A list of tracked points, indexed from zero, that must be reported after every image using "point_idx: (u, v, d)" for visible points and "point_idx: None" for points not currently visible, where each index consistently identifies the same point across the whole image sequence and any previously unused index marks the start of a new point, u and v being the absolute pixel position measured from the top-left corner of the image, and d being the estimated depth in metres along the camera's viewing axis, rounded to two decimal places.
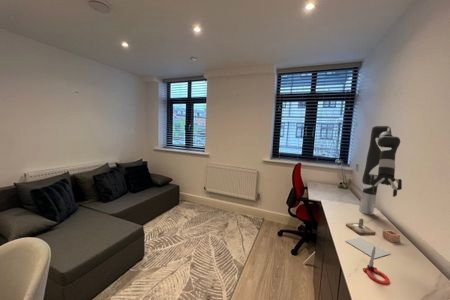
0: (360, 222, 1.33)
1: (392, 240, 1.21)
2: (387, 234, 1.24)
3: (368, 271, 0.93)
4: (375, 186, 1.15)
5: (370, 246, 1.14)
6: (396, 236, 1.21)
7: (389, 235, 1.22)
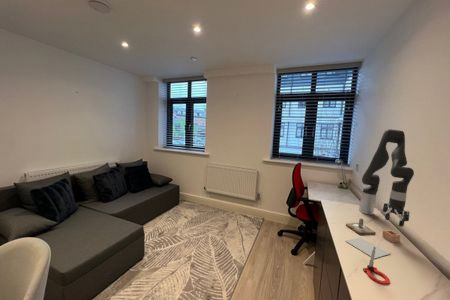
0: (360, 222, 1.33)
1: (392, 240, 1.21)
2: (387, 234, 1.24)
3: (368, 271, 0.92)
4: (386, 214, 1.27)
5: (370, 246, 1.14)
6: (396, 236, 1.21)
7: (389, 235, 1.22)
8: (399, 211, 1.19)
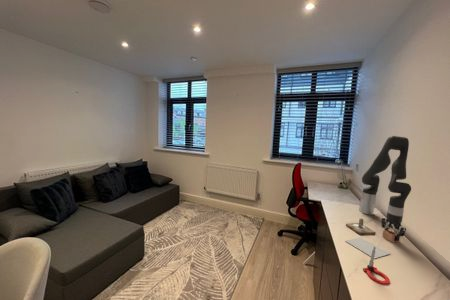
0: (360, 222, 1.33)
1: (392, 240, 1.21)
2: (387, 234, 1.24)
3: (368, 271, 0.92)
4: (384, 229, 1.27)
5: (370, 246, 1.14)
6: None
7: (389, 235, 1.22)
8: (396, 226, 1.20)
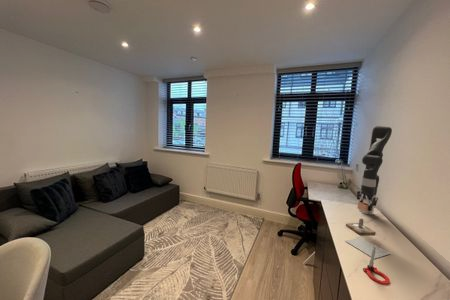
0: (360, 222, 1.33)
1: (365, 210, 1.29)
2: (361, 205, 1.31)
3: (368, 271, 0.92)
4: (359, 201, 1.35)
5: (370, 246, 1.14)
6: None
7: (363, 206, 1.30)
8: (369, 197, 1.28)
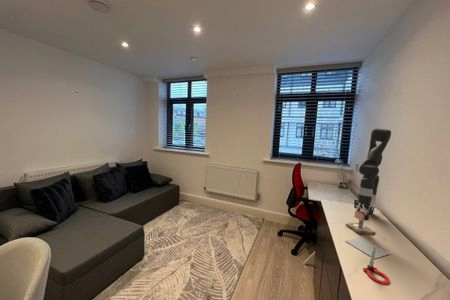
0: (360, 222, 1.33)
1: (362, 219, 1.30)
2: (358, 214, 1.33)
3: (368, 271, 0.92)
4: None
5: (370, 246, 1.14)
6: None
7: (360, 215, 1.31)
8: (366, 206, 1.29)
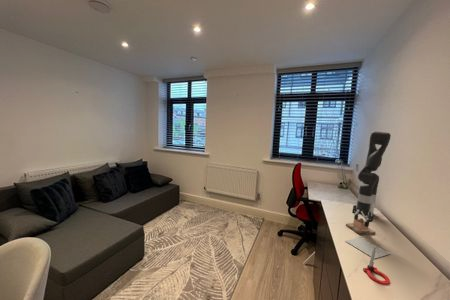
0: (360, 222, 1.33)
1: (361, 228, 1.31)
2: (357, 223, 1.33)
3: (368, 271, 0.92)
4: None
5: (370, 246, 1.14)
6: None
7: (358, 223, 1.32)
8: (365, 213, 1.30)
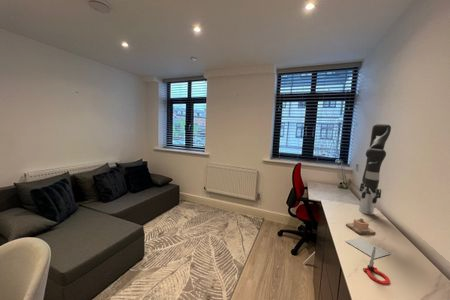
0: (360, 222, 1.33)
1: (361, 228, 1.31)
2: (357, 223, 1.33)
3: (368, 271, 0.92)
4: (362, 192, 1.38)
5: (370, 246, 1.14)
6: (365, 224, 1.31)
7: (358, 223, 1.32)
8: (372, 189, 1.30)
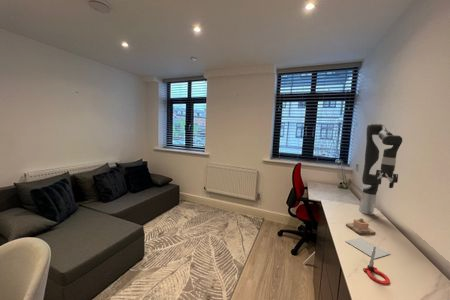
0: (360, 222, 1.33)
1: (361, 228, 1.31)
2: (357, 223, 1.33)
3: (368, 271, 0.92)
4: (378, 179, 1.42)
5: (370, 246, 1.14)
6: (365, 224, 1.31)
7: (358, 223, 1.32)
8: (389, 174, 1.34)
